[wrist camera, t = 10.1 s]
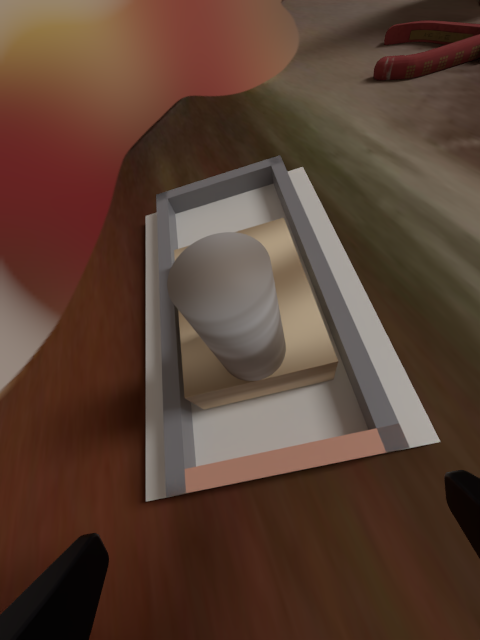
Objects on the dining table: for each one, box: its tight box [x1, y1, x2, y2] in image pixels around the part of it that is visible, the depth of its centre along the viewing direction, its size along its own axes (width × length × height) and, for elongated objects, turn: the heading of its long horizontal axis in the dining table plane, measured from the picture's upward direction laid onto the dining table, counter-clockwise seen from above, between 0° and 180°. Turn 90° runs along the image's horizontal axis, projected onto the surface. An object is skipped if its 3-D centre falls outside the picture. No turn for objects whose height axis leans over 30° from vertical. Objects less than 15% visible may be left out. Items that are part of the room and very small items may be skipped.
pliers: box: [374, 21, 480, 80], centre depth 34 cm, size 12×20×3 cm, turn 69°
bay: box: [146, 155, 440, 502], centre depth 23 cm, size 27×18×3 cm, turn 10°
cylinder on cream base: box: [167, 218, 338, 409], centre depth 17 cm, size 12×9×11 cm
